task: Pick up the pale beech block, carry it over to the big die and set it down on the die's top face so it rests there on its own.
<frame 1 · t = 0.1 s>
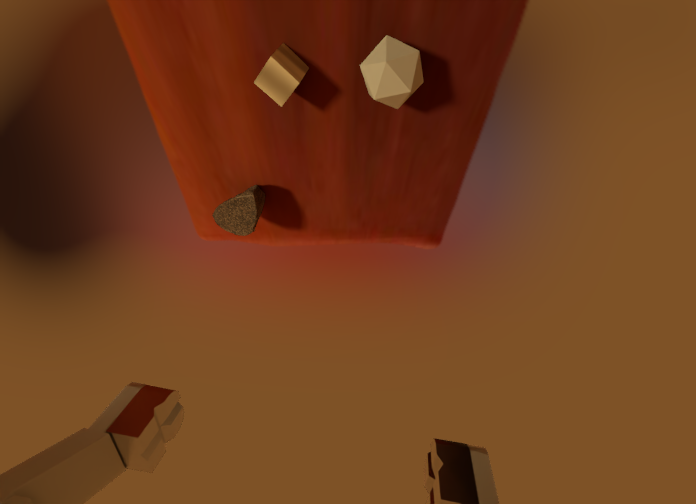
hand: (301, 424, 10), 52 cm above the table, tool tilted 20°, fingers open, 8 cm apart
beech block: (288, 67, 53), on the table
die: (394, 63, 50), on the table
rock: (252, 194, 74), on the table
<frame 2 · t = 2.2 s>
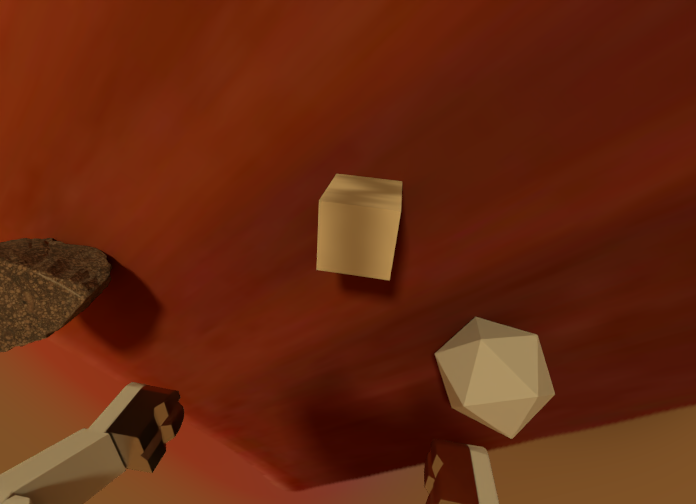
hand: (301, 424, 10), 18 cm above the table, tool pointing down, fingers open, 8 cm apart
beech block: (365, 208, 26), on the table
die: (482, 338, 31), on the table
rock: (83, 254, 34), on the table
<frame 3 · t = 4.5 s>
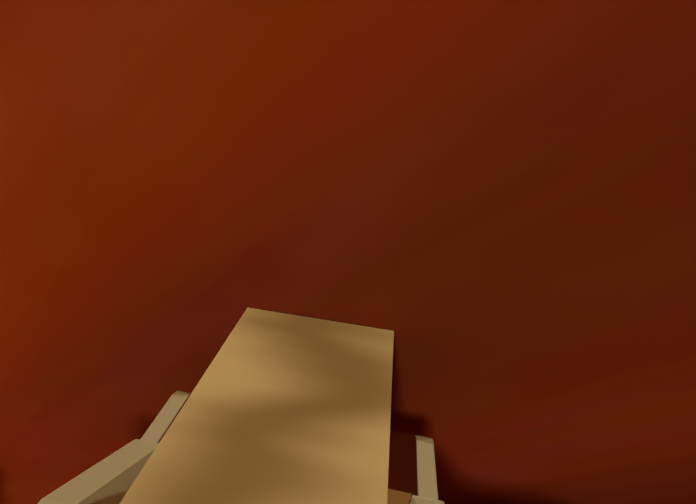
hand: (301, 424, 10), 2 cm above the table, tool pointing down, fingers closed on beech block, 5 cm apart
beech block: (317, 370, 12), on the table, touching gripper
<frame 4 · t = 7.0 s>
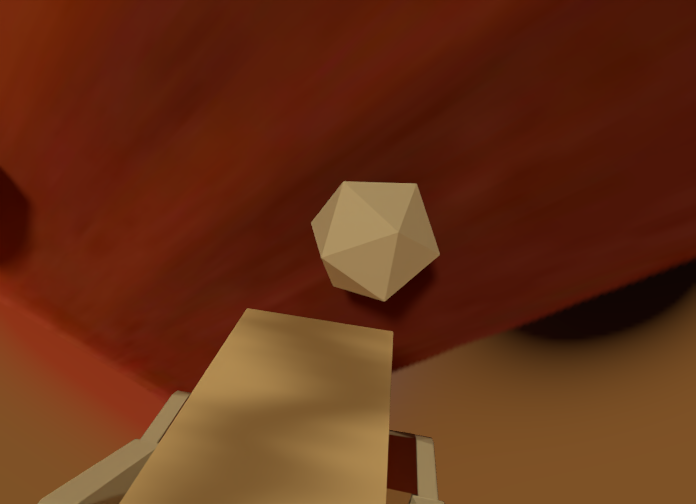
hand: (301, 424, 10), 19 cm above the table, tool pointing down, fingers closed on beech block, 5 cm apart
beech block: (316, 371, 12), point 17 cm above the table, touching gripper
die: (376, 216, 27), on the table
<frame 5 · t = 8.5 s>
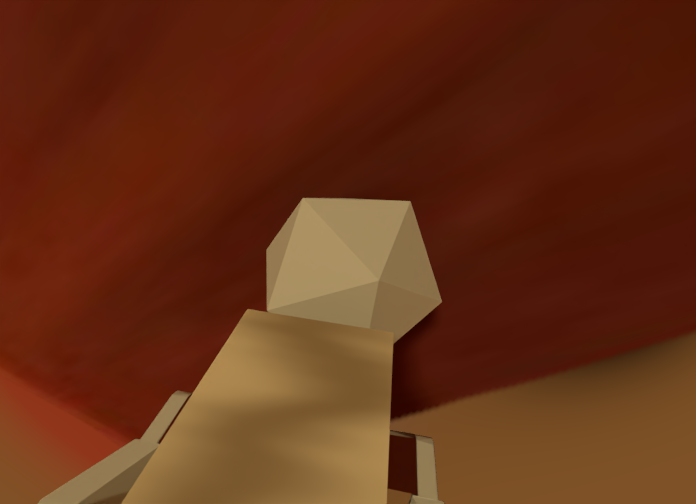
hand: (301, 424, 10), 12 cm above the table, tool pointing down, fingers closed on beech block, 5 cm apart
beech block: (316, 371, 12), point 10 cm above the table, touching gripper
die: (358, 238, 21), on the table
when the fingers open (11 cm above the table, at t = 9.5 s): beech block drops 1 cm, resting on die.
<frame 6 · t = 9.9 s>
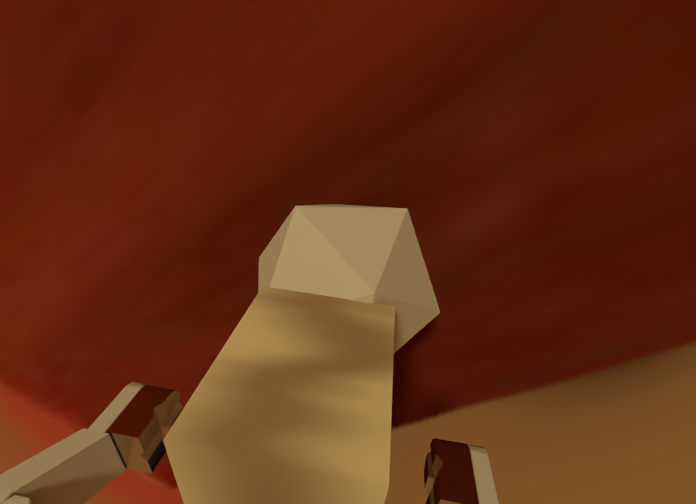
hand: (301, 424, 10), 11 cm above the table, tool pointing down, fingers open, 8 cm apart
beech block: (324, 345, 14), point 8 cm above the table, touching die
die: (354, 245, 20), on the table, touching beech block
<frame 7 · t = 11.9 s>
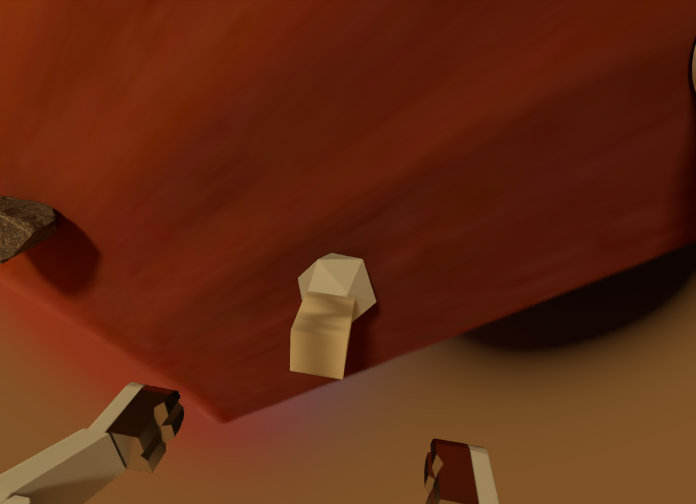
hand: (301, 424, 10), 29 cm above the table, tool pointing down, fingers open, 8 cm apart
beech block: (329, 313, 35), point 8 cm above the table, touching die
die: (340, 271, 42), on the table, touching beech block
rock: (35, 210, 43), on the table
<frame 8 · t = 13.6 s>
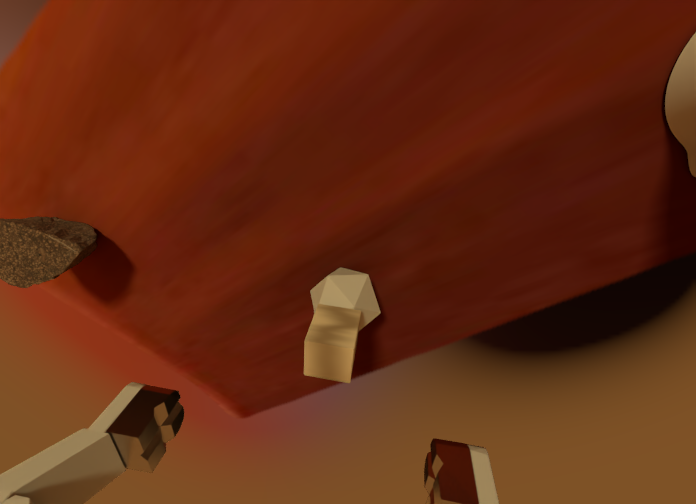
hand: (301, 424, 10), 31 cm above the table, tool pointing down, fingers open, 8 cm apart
beech block: (338, 323, 39), point 8 cm above the table, touching die
die: (349, 283, 46), on the table, touching beech block
rock: (78, 229, 48), on the table
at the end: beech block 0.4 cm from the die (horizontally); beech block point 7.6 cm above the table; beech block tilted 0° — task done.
